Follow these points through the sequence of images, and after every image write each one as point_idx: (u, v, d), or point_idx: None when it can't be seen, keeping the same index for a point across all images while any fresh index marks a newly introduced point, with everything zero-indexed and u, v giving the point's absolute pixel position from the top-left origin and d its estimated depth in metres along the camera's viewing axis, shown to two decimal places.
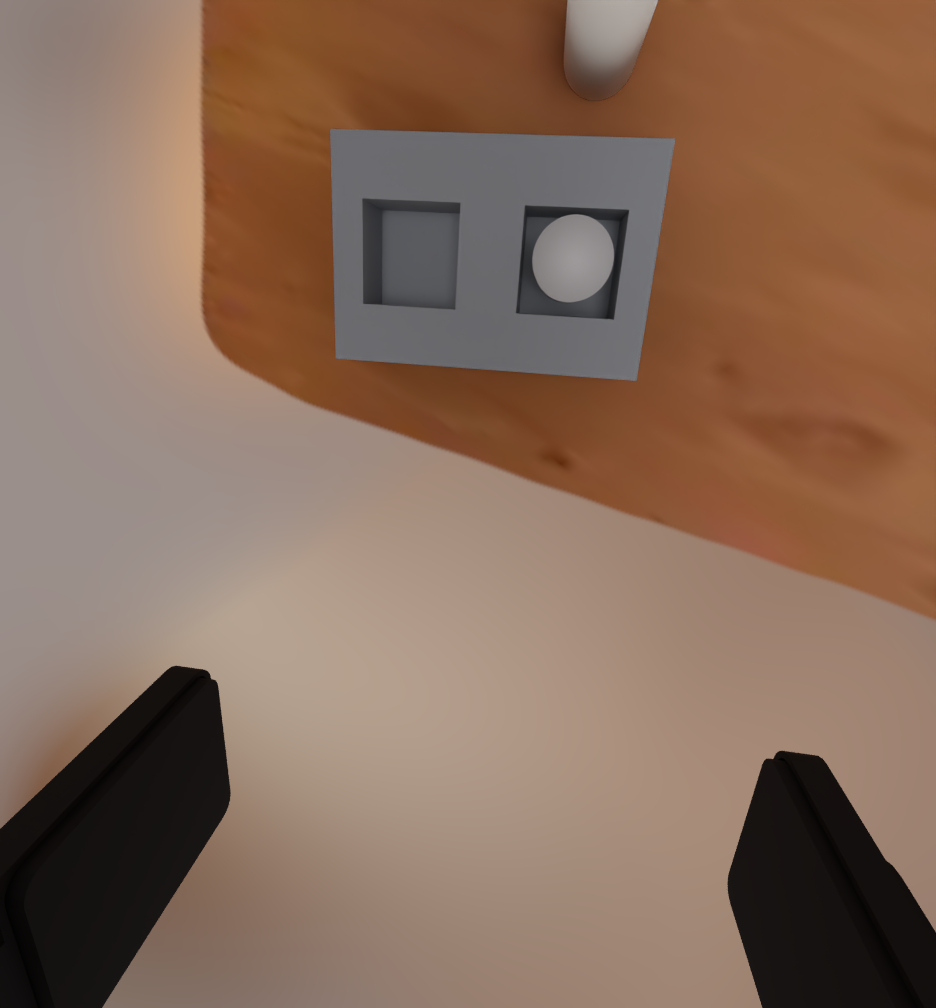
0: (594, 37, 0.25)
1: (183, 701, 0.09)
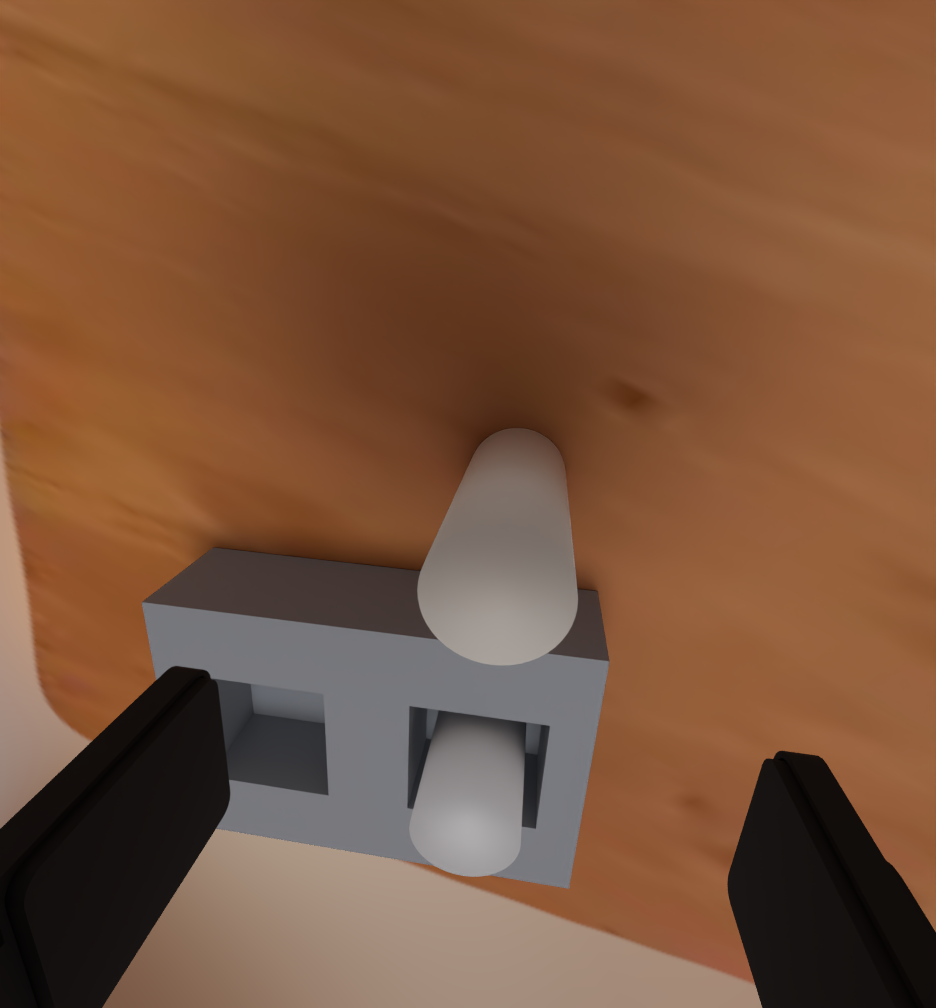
0: None
1: (183, 701, 0.09)
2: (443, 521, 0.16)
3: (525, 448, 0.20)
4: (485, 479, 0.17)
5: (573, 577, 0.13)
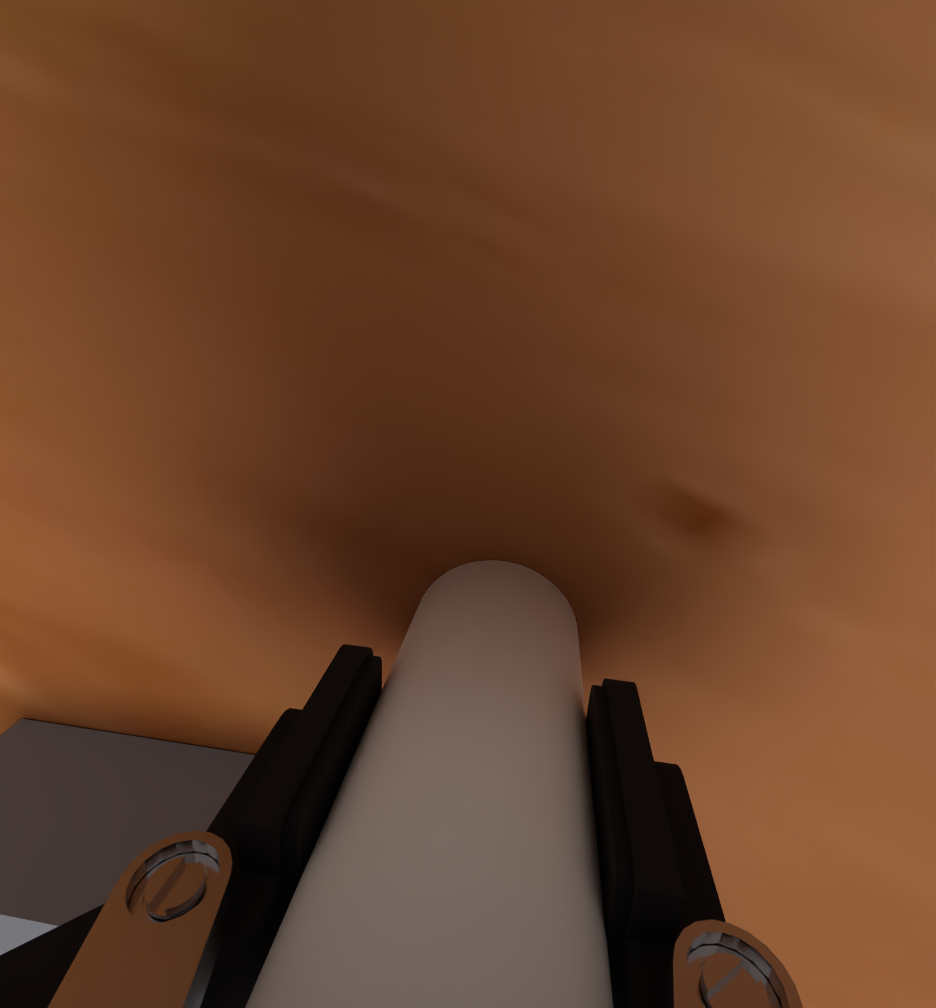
0: None
1: (364, 675, 0.10)
2: (285, 918, 0.06)
3: (504, 632, 0.10)
4: (400, 777, 0.07)
5: None
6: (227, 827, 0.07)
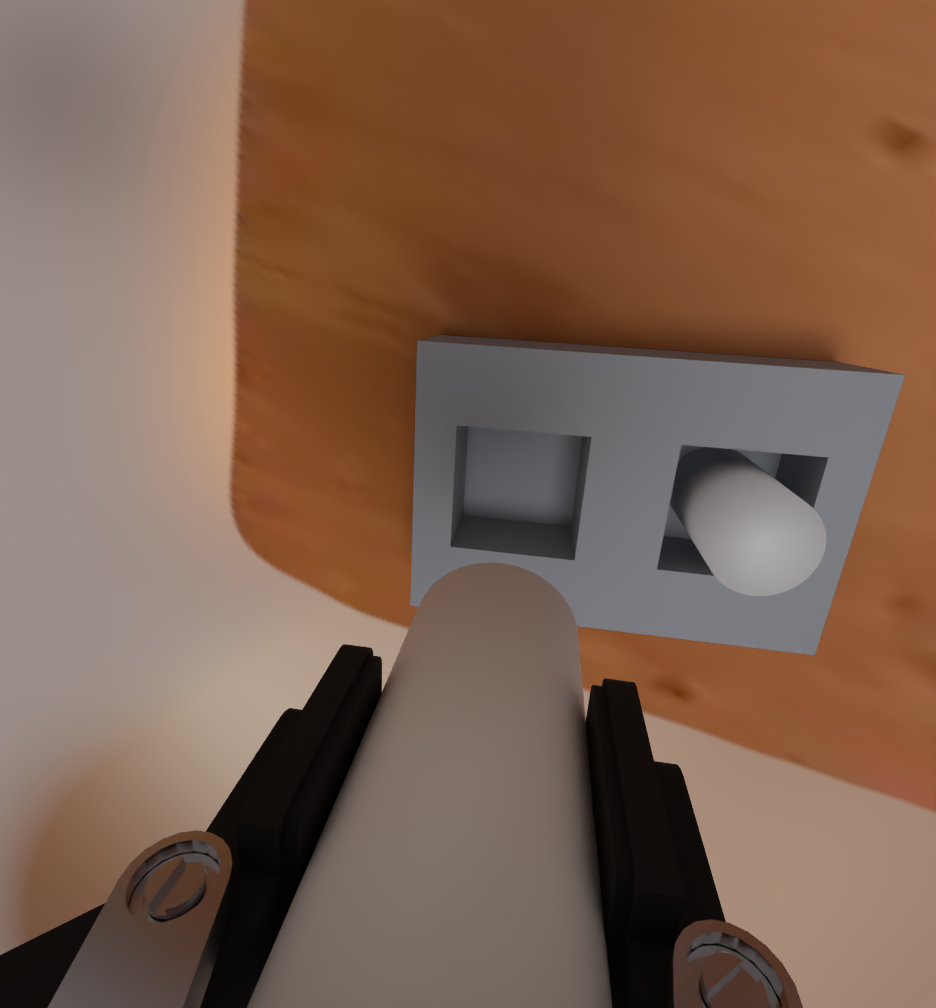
0: None
1: (364, 675, 0.10)
2: (284, 923, 0.06)
3: (503, 635, 0.10)
4: (399, 781, 0.07)
5: None
6: (227, 827, 0.07)
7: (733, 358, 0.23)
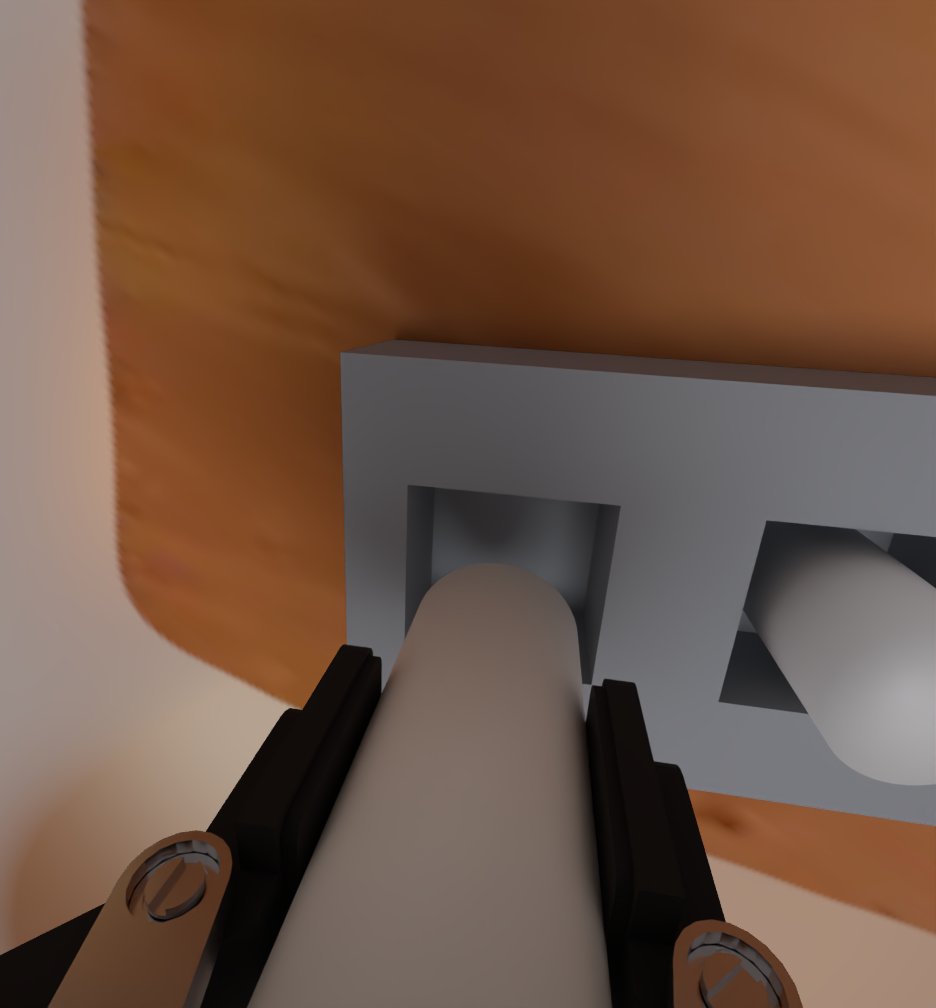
0: None
1: (364, 675, 0.10)
2: (284, 924, 0.06)
3: (503, 635, 0.10)
4: (399, 782, 0.07)
5: None
6: (227, 827, 0.07)
7: (843, 378, 0.15)
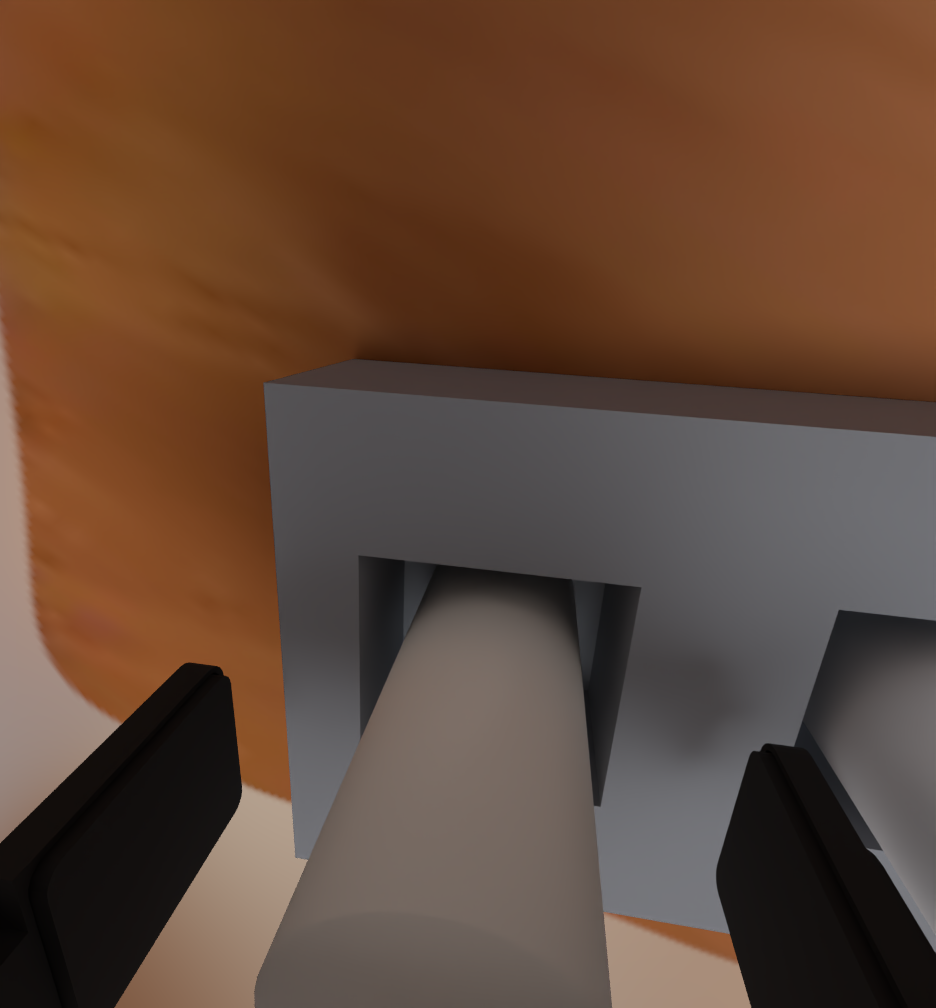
0: None
1: (197, 697, 0.09)
2: (344, 780, 0.08)
3: (511, 582, 0.12)
4: (430, 680, 0.09)
5: None
6: None
7: (931, 415, 0.11)
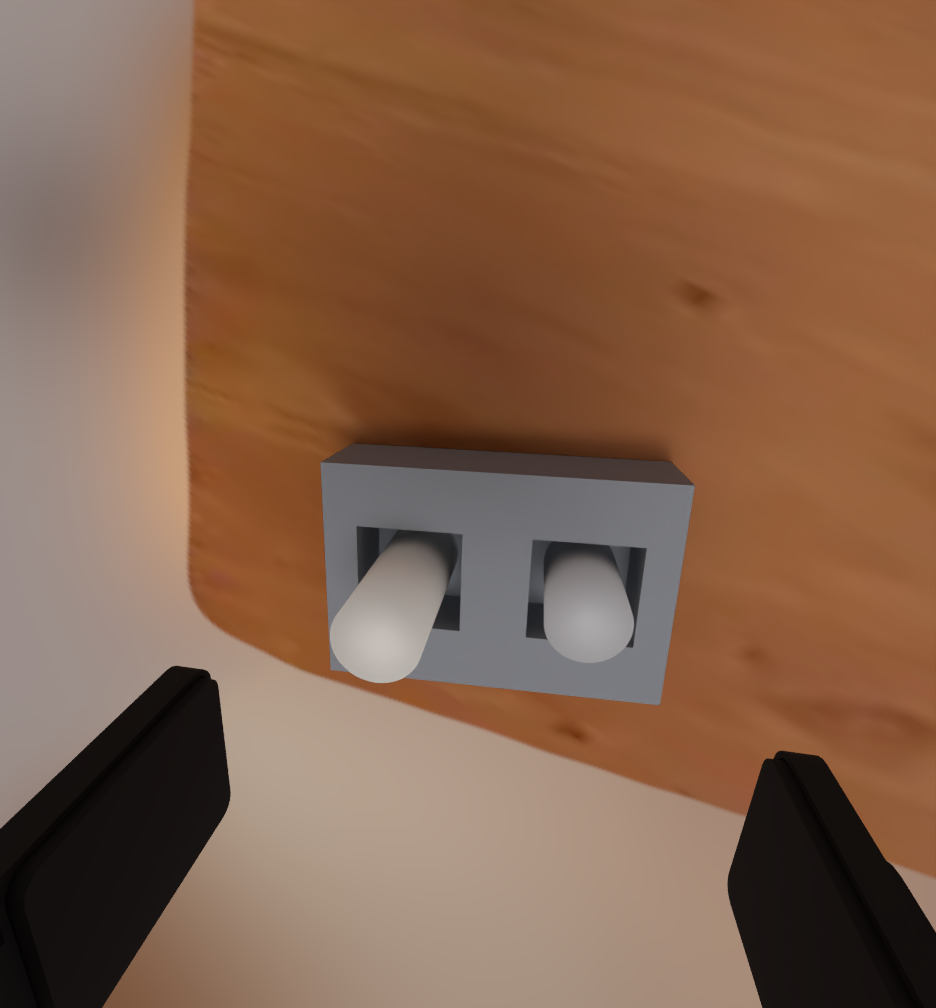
0: None
1: (183, 701, 0.09)
2: None
3: (419, 538, 0.29)
4: (381, 564, 0.26)
5: (418, 629, 0.23)
6: None
7: (577, 466, 0.29)
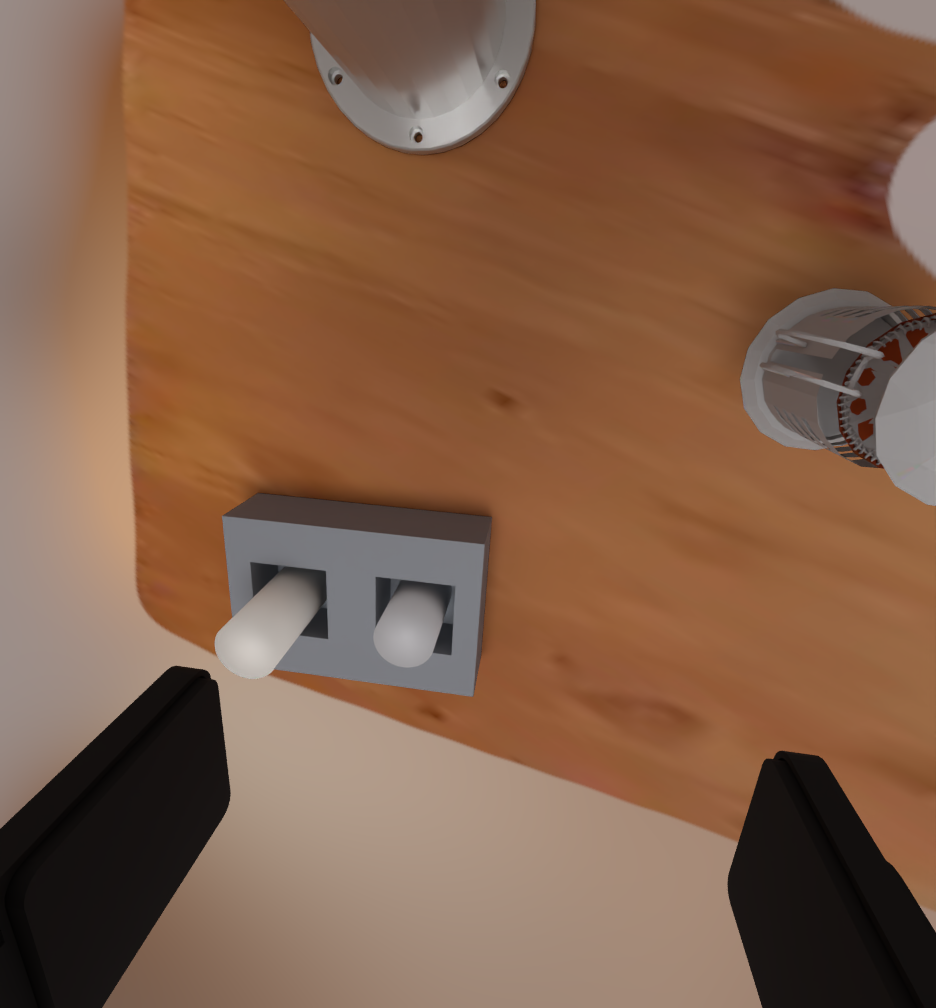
0: None
1: (183, 701, 0.09)
2: None
3: (298, 570, 0.40)
4: (261, 593, 0.36)
5: (273, 644, 0.33)
6: None
7: (414, 521, 0.39)
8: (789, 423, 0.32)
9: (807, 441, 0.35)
